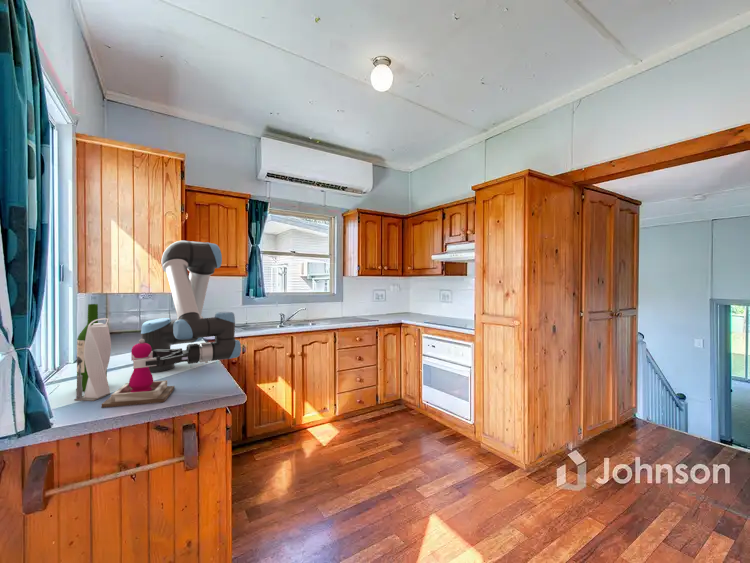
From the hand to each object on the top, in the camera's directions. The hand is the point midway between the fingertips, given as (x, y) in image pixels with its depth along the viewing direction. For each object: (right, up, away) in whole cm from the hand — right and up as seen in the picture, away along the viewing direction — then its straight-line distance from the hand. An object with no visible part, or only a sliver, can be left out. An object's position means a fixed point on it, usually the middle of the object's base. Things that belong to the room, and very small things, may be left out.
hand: (132, 360), depth 119 cm
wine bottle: (-24, -14, +12) cm, 30 cm away
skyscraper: (-15, -14, +2) cm, 20 cm away
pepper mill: (+2, -13, +2) cm, 13 cm away
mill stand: (+2, -14, +2) cm, 14 cm away
